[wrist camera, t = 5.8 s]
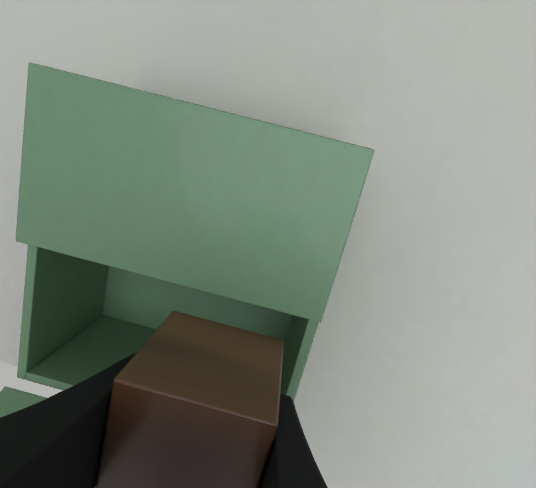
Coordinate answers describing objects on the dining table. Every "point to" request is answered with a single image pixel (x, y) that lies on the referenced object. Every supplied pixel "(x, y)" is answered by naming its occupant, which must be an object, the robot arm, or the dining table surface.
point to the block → (193, 408)
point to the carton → (170, 224)
